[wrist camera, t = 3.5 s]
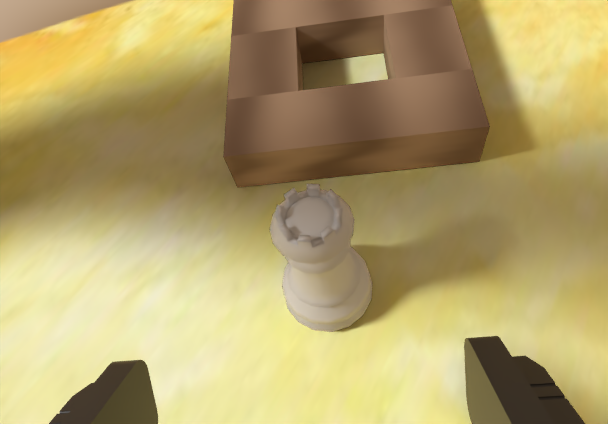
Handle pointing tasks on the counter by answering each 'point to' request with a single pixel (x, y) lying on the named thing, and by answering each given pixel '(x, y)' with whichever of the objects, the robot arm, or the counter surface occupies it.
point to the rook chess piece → (320, 259)
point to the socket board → (348, 91)
